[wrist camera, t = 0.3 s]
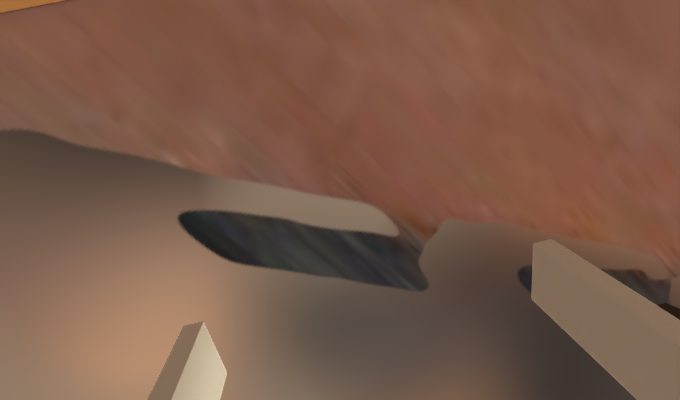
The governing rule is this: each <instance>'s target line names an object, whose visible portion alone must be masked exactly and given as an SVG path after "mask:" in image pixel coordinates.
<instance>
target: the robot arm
mask: <svg viewBox="0 0 680 400" xmlns="http://www.w3.org/2000/svg"><path fill="white" fill-rule="evenodd" d="M531 299H532V300H533V301H534V302H535V303H536V304H537V305H538V306H539V307H540V308H541V309H542V310H543V311H544V312H546V314H548V315H549V316H550V317H551V318H552V319H553V320H554V321H555V322H556V323H557V324H558V325H559V326H560V327H561V328H563V330H564V331H566V332H567V333H568V334H569V335H570V336H571V337H572V338H573V339H574V340H575V341H576V342H577V343H578V344H579V345H580V346H581V347H582V348H583V349H584V350H585V351H586V352H587V353H589V354H590V355H591V356H592V357H593V358H594V359H595V360H596V361H597V362H598V363H599V364H600V365H601V366H602V367H604V369H605V370H606V371H607V372H609V373H610V374H611V375H612V376H613V377H614V378H615V379H616V380H617V381H618V382H619V383H620V384H621V385H622V386H623V387H624V388H625V389H627V391H628V392H630V393H631V394H632V395H633V396H634V397H635V398H636V399H637V400H680V309H679V308H677V307H674V306H671V305H669V304H666V303H664V304H660V305H655V304H654V303H652V302H651V301H649V300H648V299H646V298H644V297H643V296H641V295H640V294H638V293H636V292H635V291H633V290H632V289H630V288H629V287H627V286H625V285H624V284H622V283H621V282H619V281H617V280H616V279H614V278H613V277H611V276H610V275H608V274H606V273H605V272H603V271H602V270H600V269H598V268H597V267H595V266H594V265H592V264H590V263H589V262H587V261H586V260H584V259H583V258H581V257H579V256H578V255H576V254H575V253H573V252H572V251H570V250H568V249H567V248H565V247H564V246H562V245H560V244H559V243H557V242H556V241H554V240H552V239H550V240H546V241H542V242H537V243H533V266H532V296H531ZM226 375H227V371H226V369H225V367H224V365H223V363H222V361H221V358H220V356H219V354H218V352H217V350H216V347H215V345H214V343H213V341H212V339H211V337H210V334H209V332H208V330H207V328H206V326H205V323H204V322H203V321H202V322H198V323H194V324H190V325H186V326H183V328H182V330H181V333H180V335H179V336H178V339H177V341H176V343H175V345H174V347H173V349H172V351H171V353H170V355H169V357H168V359H167V361H166V363H165V365H164V367H163V369H162V371H161V373H160V375H159V378H158V380H157V382H156V384H155V386H154V388H153V390H152V392H151V394H150V396H149V398H148V400H220V398H221V395H222V391H223V387H224V383H225V379H226Z"/></svg>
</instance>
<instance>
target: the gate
mask: <svg viewBox="0 0 680 400" xmlns="http://www.w3.org/2000/svg"><path fill="white" fill-rule="evenodd" d="M60 1H65V0H0V13H2V12H7V11H12V10H18V9H23V8H28V7H33V6H39V5H44V4H49V3H54V2H60Z"/></svg>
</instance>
